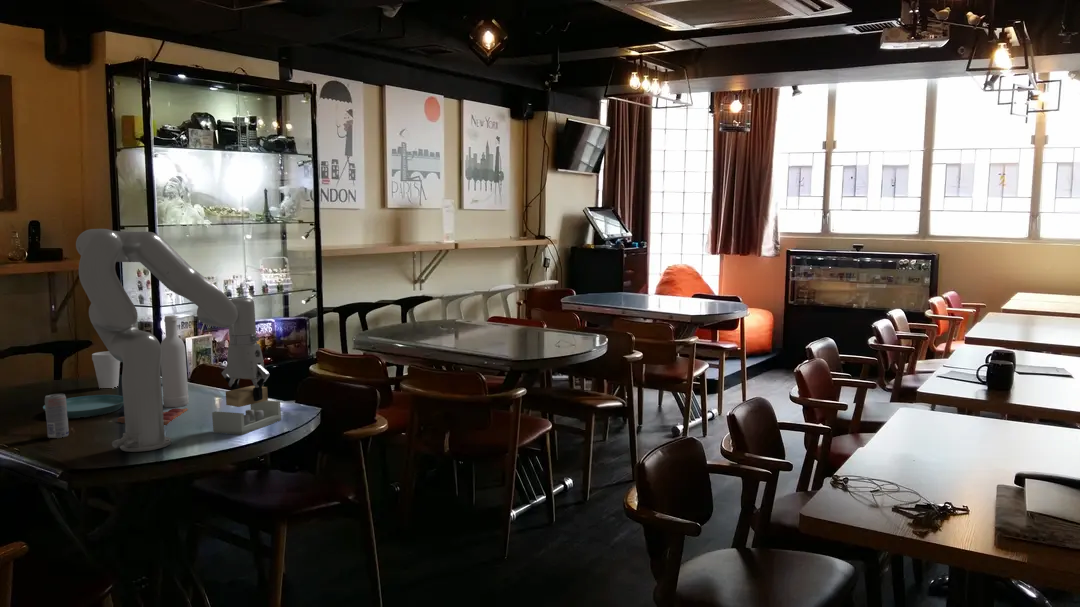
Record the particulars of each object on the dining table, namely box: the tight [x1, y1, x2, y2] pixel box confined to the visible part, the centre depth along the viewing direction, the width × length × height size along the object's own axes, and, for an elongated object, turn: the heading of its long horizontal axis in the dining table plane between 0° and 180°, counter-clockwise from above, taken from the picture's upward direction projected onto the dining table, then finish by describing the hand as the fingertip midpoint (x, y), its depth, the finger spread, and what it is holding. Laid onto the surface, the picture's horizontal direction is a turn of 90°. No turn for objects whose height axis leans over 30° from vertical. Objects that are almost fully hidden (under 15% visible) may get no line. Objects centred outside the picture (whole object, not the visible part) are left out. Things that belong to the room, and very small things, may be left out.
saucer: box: [42, 394, 124, 419], centre depth 278 cm, size 24×24×3 cm
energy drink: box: [44, 393, 70, 439], centre depth 245 cm, size 5×5×12 cm
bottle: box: [160, 314, 190, 408], centre depth 283 cm, size 8×8×30 cm
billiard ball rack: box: [116, 407, 189, 426], centre depth 268 cm, size 18×2×20 cm
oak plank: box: [225, 385, 269, 408], centre depth 251 cm, size 10×6×4 cm, turn 144°
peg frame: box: [211, 399, 282, 436], centre depth 252 cm, size 18×10×6 cm, turn 161°
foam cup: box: [91, 350, 121, 389], centre depth 318 cm, size 10×9×13 cm
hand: (247, 399), depth 251 cm, fingers closed on oak plank, 7 cm apart
